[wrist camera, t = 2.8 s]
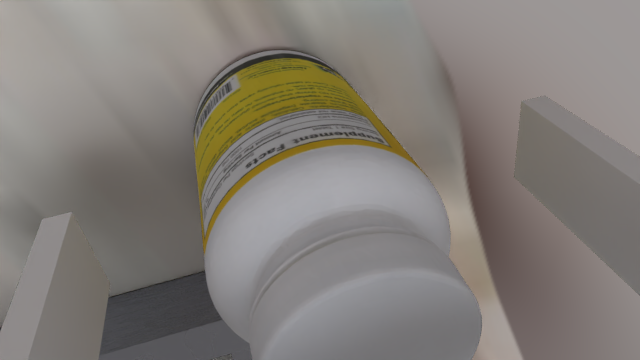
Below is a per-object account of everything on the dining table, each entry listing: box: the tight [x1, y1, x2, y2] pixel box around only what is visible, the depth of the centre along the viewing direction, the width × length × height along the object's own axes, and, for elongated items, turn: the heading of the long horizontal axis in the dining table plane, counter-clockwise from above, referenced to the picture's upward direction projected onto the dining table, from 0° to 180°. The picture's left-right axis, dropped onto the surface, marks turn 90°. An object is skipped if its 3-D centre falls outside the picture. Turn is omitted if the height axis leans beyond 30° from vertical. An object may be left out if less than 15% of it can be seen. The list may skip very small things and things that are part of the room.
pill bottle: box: [193, 50, 482, 360], centre depth 14 cm, size 6×6×11 cm
